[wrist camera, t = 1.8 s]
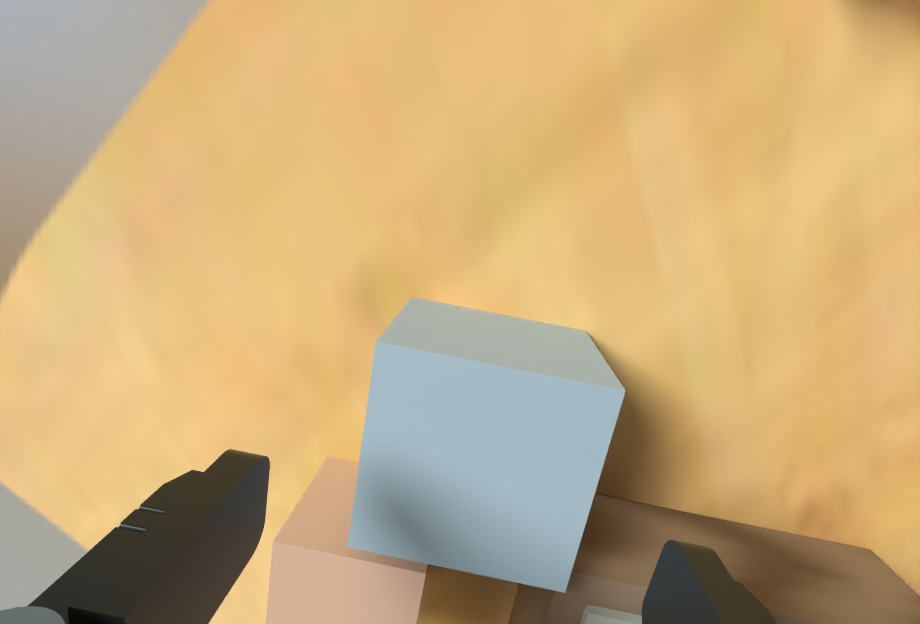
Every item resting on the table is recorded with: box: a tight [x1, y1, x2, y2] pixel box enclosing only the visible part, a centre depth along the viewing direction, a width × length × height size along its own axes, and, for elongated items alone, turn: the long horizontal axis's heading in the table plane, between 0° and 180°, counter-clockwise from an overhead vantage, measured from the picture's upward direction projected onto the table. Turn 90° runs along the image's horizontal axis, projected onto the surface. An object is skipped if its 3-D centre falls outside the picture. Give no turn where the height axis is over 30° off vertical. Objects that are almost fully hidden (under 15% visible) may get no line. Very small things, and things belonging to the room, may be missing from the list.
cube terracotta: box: [266, 456, 428, 624], centre depth 16 cm, size 4×4×4 cm
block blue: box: [347, 297, 626, 593], centre depth 14 cm, size 6×6×5 cm
